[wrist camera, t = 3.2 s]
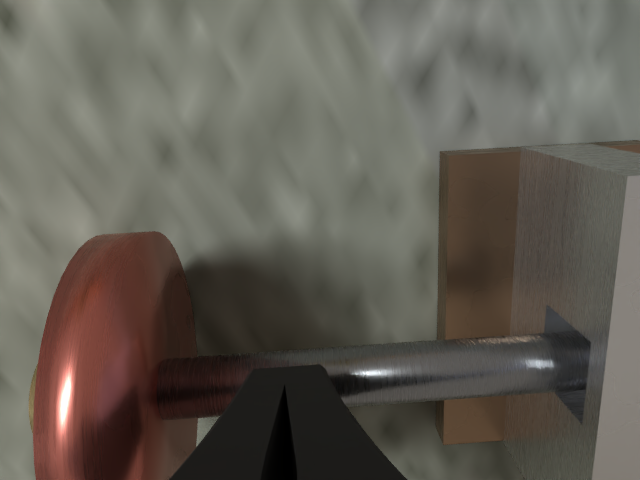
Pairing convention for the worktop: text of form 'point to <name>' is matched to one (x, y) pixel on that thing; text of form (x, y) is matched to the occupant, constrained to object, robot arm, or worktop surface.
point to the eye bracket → (547, 297)
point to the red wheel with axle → (221, 366)
